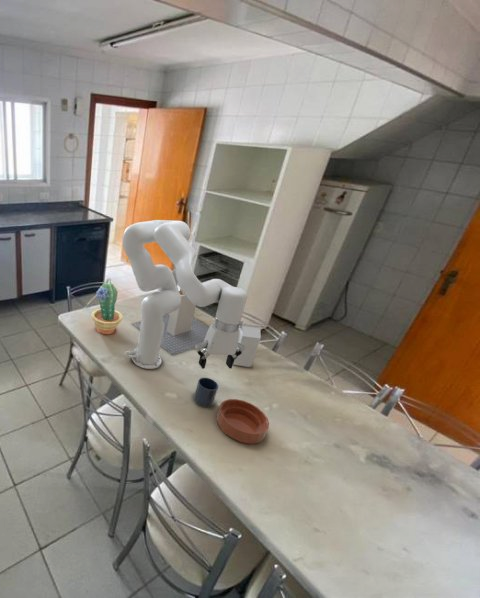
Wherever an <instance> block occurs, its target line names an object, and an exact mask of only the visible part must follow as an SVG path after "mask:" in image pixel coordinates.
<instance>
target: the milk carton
mask: <svg viewBox="0 0 480 598" xmlns="http://www.w3.org/2000/svg"><path fill="white" fill-rule="evenodd" d="M261 328H262V325H260V324H259V325H258V324H253V323H244V322H243V325H240V326H239V342H238V343H240V344H242V345H244V346H245V347H246V348H245V350H244V351H243V352H242V354H240V355H239V356H238V357H237V359H235V360H234V364H233V366H239V367H246V368H251V367H252V365H253V361H254V359H255V356H256V353H257V350H258V347H259V344H260V342H261V339H262V334H261V331H262V330H261ZM238 348H239V347H237V349H238Z"/></svg>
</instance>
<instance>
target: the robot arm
mask: <svg viewBox="0 0 480 598" xmlns="http://www.w3.org/2000/svg"><path fill="white" fill-rule="evenodd" d="M190 237H191V229H190V227H189V225H188V224H187V223H186V222H184V221H182V220H170V219H169V220H167V219H154V220H147V221H140V222H135V223H133V224H130V225H128V226H127V227H126V229H124V232H123V234H122V238H121V240H122V241H121V242H122V247H123V251H124V252H125V255H126V257H127V258H128V260H129V263H130V266H131V269H132V272H133V275H134V278H135V283H136V284H137V286H138V287H137V288H138V289H139V290H140V291H141V292H145V293H148V292H152V291H155V290H157V292H154V293H151V294H149V295H147V296H145V297H144V298H143V300H142V301H141V303H140V312H141V316H140V322H141V325H140V329H139V333H138V339H137V346H136V347H134V349H132V350H125V351H124V354H125V356H128V358H129V359H131V360H132V362H133V364H135V365H136V366H138V367H139V368H142V369H146V370H155V369H158V368H159V367H160V366H161V365H162V362H163V360H162V358H161V356H160V352H161V348H162V346H161V342H162V337H163V331H164V322H163V316H167V315H170V313H171V312H173V311H175V310H177V309H178V308H179V307H180V305H181V297H180V294H179V291H180V289H181V291H182V292H183V293H184V294H185V295H186V297H187V298H188V299H189V300H190V301H191V302H192V303H193V304H194V305H196V307H199V308H204V307H208V306H210V305H212V304H214V303H218V305H217V309H216V313H215V317H214V322H213V323H211V324H210V325H209V326H208V327H209V329H208V331H207V334H206V337H205V340H204V342H202V343H200V344H197V345H195V347H194V349H195V351H196V353H197V354H198V355H199V359H198V365H199V366H200V368H201V369H202V370H203V369H205V368H206V364H207V361H208V360H207V358H208V357H209V356H227V357H226V361H225V365H226V366H227V367H228V369H230V370H231V369H232V368H233V366H234V365H233V364H234V360H235V359H237V357H238V356H239V355H240V354H242V352H243V351H244V350H245V348H246V347H245V346H244V345H242V344H240V343H238V342H239V327H240V326H242V325H243V323H244V321H243V320H242V317H243V314H244V310H245V307H246V304H247V300H248V293H247V291H245V290H244V289H243V288H240V287H236V286H233V285H231V284H229V283H228V282H226V281H225V280H222V279H220V278H211V279H209V280H205V281H203V282H201V281H200V280H199V279H198V277H197V275H195V273H194V270H193V267H192V265H193V262H194V260H195V258H196V257H197V250H196V249H195V248H194V247H193V246H192V245H191V244H190V242H189V241H188V240H189V239H190ZM151 243H156V244H157V245H158V246H159V248H160V249H161V250H162V251H163V253H164V254H165V255H166V256H167V258H168V259H169V260H170V262H171V263H172V264H173V265H174V267H175V271H176V277H177V282H178V284H177V285H176V282H175V279H174V276H173V273H172V271H173V270H171V268H169V266H168V265H165V264H162V263H160V264H159V263H158V264H155V263H154V261H153V258H152V256H151V253H150V252H149V251H148V250H147V249H146V248H145V247H144V245H146V244H151ZM237 347H239V348H238V349H237Z"/></svg>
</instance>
